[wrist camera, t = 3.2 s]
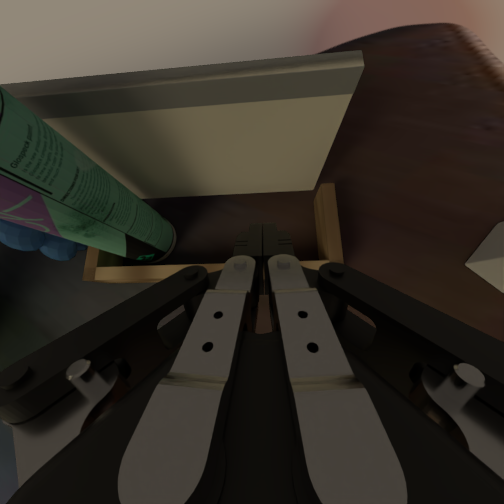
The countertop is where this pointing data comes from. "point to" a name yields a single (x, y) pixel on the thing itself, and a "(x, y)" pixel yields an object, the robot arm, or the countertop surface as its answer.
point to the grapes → (38, 241)
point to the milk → (490, 258)
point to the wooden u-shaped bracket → (329, 249)
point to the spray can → (71, 191)
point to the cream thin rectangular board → (204, 122)
